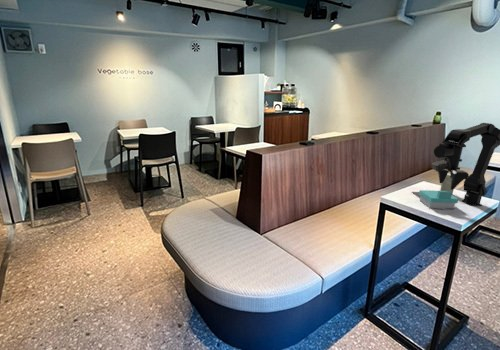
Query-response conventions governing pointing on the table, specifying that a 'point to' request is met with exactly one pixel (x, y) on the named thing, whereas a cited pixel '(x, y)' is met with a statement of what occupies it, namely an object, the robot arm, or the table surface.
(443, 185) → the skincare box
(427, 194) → the lid
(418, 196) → the mat
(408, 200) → the table surface
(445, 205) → the tub
